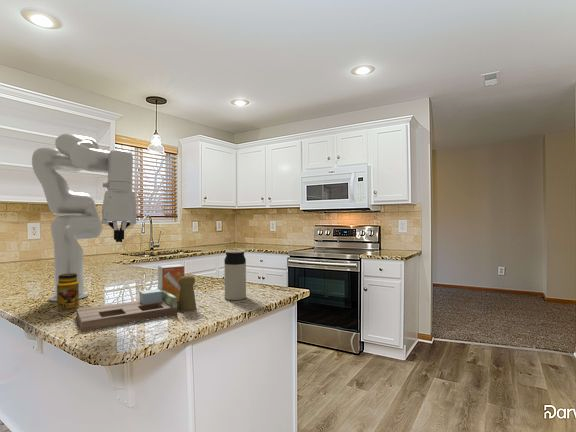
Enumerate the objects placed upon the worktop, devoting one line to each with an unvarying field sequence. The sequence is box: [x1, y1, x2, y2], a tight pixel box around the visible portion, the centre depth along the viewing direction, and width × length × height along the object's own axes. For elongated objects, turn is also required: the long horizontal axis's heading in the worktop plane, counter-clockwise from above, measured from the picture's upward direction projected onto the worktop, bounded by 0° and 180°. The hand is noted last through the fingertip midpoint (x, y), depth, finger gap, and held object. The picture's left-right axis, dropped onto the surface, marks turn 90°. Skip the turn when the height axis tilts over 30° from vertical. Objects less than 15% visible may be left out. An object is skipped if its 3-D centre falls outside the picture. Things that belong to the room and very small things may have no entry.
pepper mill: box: [177, 275, 197, 312], centre depth 117 cm, size 6×6×11 cm
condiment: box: [47, 273, 86, 315], centre depth 117 cm, size 7×8×12 cm
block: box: [139, 288, 162, 305], centre depth 117 cm, size 5×6×4 cm
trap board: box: [76, 289, 178, 332], centre depth 109 cm, size 16×26×6 cm, turn 125°
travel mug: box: [224, 249, 247, 301], centre depth 132 cm, size 8×8×18 cm
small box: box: [157, 263, 185, 303], centre depth 128 cm, size 8×6×13 cm
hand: (118, 241), depth 118 cm, fingers closed
